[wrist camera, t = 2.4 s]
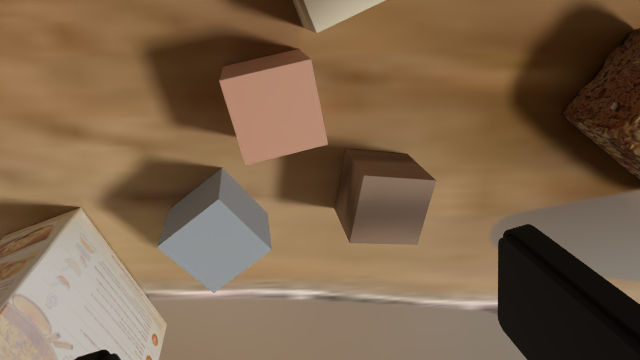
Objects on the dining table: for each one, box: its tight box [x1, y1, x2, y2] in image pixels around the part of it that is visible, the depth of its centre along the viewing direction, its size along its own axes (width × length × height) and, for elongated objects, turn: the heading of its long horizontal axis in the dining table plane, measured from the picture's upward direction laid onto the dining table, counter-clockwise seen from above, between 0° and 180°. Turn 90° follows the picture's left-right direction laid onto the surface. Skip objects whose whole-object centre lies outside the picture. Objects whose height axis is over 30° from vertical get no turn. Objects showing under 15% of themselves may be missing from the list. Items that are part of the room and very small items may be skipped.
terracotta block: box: [219, 49, 328, 165], centre depth 29 cm, size 6×6×6 cm
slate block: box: [157, 168, 272, 293], centre depth 32 cm, size 6×6×6 cm
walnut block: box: [334, 149, 436, 245], centre depth 34 cm, size 6×6×6 cm
